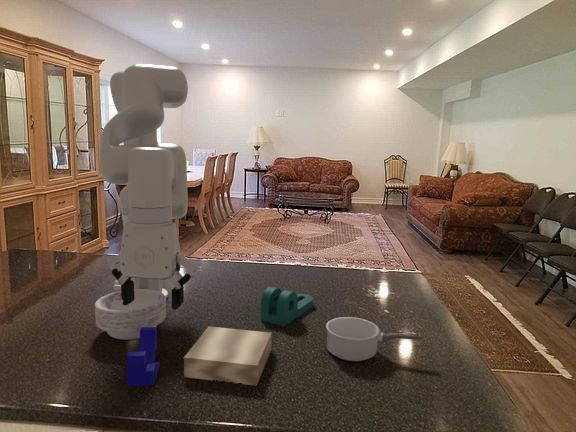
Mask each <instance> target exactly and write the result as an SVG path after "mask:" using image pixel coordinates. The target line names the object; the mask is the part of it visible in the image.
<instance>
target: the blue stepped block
mask: <svg viewBox="0 0 576 432" xmlns="http://www.w3.org/2000/svg"><path fill="white" fill-rule="evenodd" d="M157 332H158V331H157V327H141V329H140V338H139V342H138V343H139V344H138V351H128V353H127V355H126V373H127V376H126V377H127V386H128V387H138V386H140V387H141V386H154V385H155V380H156V378H157V375H158V372H159V370H160V361H155V360H156V358H157V355H158V340H157V339H158V338H157V336H158V335H157Z"/></svg>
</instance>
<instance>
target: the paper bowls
mask: <svg viewBox="0 0 576 432" xmlns="http://www.w3.org/2000/svg"><path fill="white" fill-rule="evenodd" d="M94 314H95V315H94V316H95V317H94V318H95V324H96V327H97V328H99V329H100V330H101V331H105V332H107V334H108V335H109V337H112V338H114V339H117V340H122V341H123V340H127V341H128V340H136V339H140V329H141V327H157V326H158V325H160V324H161V323H163V322H164V321H165V320H166V317H167V299H166V297H165V295H164V294H163V293H161V292H159V291H155V290H149V289H134V301H132V302H131V303H130V304H128V305H126V306H125V305H123V299H122V298H121V290H119V291H118V290H117V291H114V292H112V293H108V294H106V295H103V296H101V297H99V298H98V299H97V300H96V301H95V303H94Z"/></svg>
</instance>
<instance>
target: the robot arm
mask: <svg viewBox="0 0 576 432" xmlns="http://www.w3.org/2000/svg"><path fill="white" fill-rule="evenodd" d="M109 84H110V85H109V88H110V94H111V98H112V102H113V105H114V107H115V109H116V112H117V113H116V114H115V115H114V116H113V117H112V118H111V119H109V120H108V122H106V124H105V126H104V127H103V128H102V129H103V130H102V132H101V135H100V138H99V139H100V140H99V170H100V174H101V176H102V178H103V180H104V181H106V182H107V183H108V184H112V185H126V186H124V187H123V188H122V189H121V191H120V193H119V199H118V200H119V201H118V202H119V207H120V211H121V218H122V224H123V230H122V235H121V243H120V253H119V254H117V255H114V256H113V257H110V258H109V259H107V260H106V263H107V265H108V267H109V270H111V274H112V275H113V277H114V278H115V279H116V280H114V282H113V287H112V288H113V290H114V291H115V290H116V291H118V290H119V291H121V298H122V299H123V305H125V306H126V305H128V304H130V303H131V302H132V301H134V289H149V290H155V291H159V292H161V293H163V294H164V295H165V297H166V300H167V299H168V297H169V292H168V290H167V289H165V288H163V281H165V280H168V282H170V283H171V285H172V286H173V288H172V289H171V309H172V310H177V309H179V308H180V307H181V306H182V305H183V304H184V301H185V300H184V299H185V297H184V296H185V292H184V291H185V290H184V289H185V288H184V286H185V285H186V284H187V283H188V282H189V281H190V280H191V279H192V278H193V277H194V275H195V272H196V271H197V268H198V264H197V263H196V262H194V261H192V260H190V259H189V258H187V257H185V256H184V255H182V254H181V249H180V248H181V247H180V239H179V238H180V237H179V234H178V233H179V232H178V229H177V226H176V222H173V220H174V219H175V220H176V219H181V218H184V217H185V216H186V215H187V213H188V207H189V196H188V167H187V157H186V153H185V149H183V147H182V146H181V145H179V144H178V143H177V144H175V143H163V142H162V143H160V142H158V136H157V135H158V133H157V132H158V129H159V128H161V126H162V125H163V123H164V121H165V111H164V108H165V109H166V108H167V109H176V108H180V107H182V106H183V105H184V104H185V102H186V101H187V98H188V94H189V93H188V92H189V89H188V88H189V86H188V81H187V77H186V75H185V73H184V71H183V70H181V69H180V68H179V67H175V66H167V65H166V66H165V65H155V64H143V63H137V64H131V65H130V66H127V68H126V69H125V70H122V71H118V72H115V73H113V74H112V76H111V77H110V80H109ZM119 262H120V263H119ZM181 266H182V267H184V268H185V269H186V272H185V274H184V275H183V274H182V273H181V272H180V271H181Z"/></svg>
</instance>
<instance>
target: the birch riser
mask: <svg viewBox="0 0 576 432" xmlns="http://www.w3.org/2000/svg"><path fill="white" fill-rule="evenodd" d="M272 333H273V332H270V331H269V332H268V331H259V330H249V329H248V330H247V329H238V328H228V327H219V326H218V327H217V326H209V325H208V327H207V328H206V329H205V330H204V332H203V333H202V334H201V335H200V337H199V338H198V339H197V340H196V341H195V343H194V344H193V345H192V347H191V348H190V349H189V350H188V352H187V353H186V354H185V355H184V357H183V377H184V378H189V379H197V380H198V379H199V380H207V381H213V380H215V381H214V382H222V381H225V382H224V383H230V382H233V383H232V384H238V383H242V384H241V385H246V386H247V385H249V386H258V384H259V382H260V379H261V377H262V373H263V372H264V370H265V367H266V364H267V362H268V359H269V357H270V354H271V352H272V340H273V339H272V335H273V334H272ZM216 380H217V381H216Z"/></svg>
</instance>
